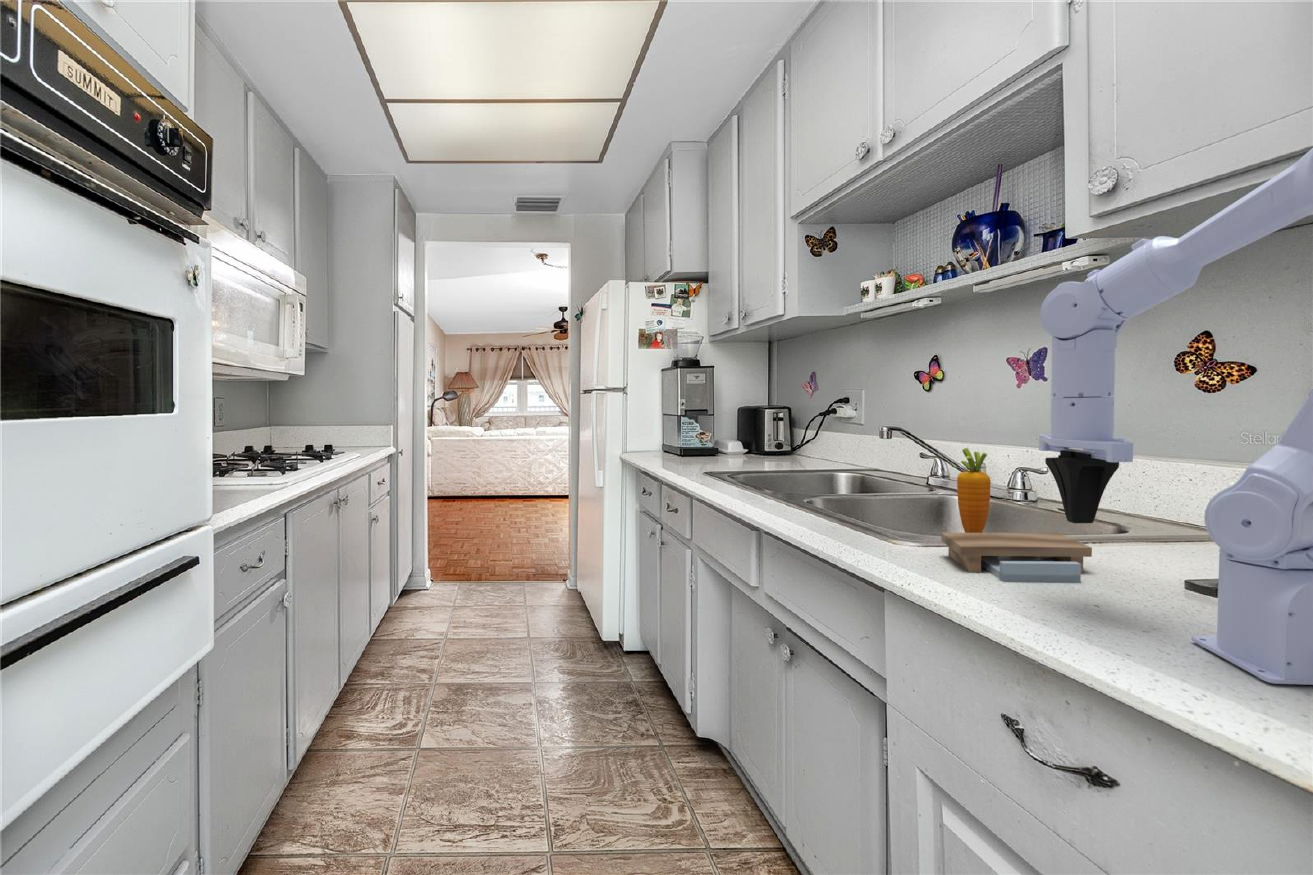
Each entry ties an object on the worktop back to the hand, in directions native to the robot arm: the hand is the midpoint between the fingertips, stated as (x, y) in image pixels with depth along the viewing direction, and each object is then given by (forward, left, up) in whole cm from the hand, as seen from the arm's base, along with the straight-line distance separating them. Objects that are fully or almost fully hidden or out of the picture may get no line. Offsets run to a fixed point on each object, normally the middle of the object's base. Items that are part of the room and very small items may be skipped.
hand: (1080, 522), depth 72 cm
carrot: (+31, +1, -10) cm, 32 cm away
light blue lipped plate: (+15, 0, -10) cm, 18 cm away
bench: (+18, 0, -9) cm, 21 cm away
